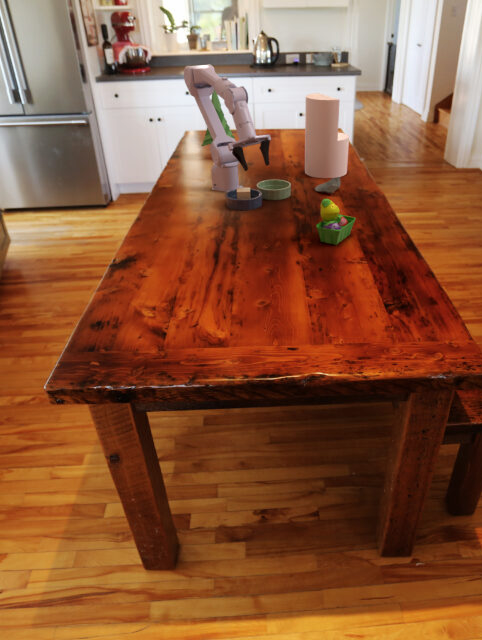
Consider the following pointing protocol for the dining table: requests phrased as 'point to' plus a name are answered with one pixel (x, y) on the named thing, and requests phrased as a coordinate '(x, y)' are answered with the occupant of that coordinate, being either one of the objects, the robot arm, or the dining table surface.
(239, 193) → the block
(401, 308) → the dining table surface
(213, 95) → the decorative tree
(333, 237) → the fruit basket
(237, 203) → the slate bowl
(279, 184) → the sage bowl
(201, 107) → the robot arm
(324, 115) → the cylinder
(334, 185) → the stone
